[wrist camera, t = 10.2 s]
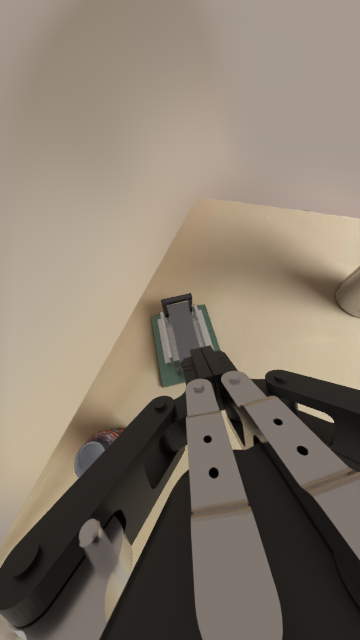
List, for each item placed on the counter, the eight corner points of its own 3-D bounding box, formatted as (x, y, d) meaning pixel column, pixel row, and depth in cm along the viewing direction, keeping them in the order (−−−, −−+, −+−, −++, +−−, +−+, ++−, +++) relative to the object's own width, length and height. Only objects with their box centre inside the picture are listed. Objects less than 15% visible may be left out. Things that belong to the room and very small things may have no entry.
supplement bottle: (146, 443, 32) (124, 456, 22) (122, 477, 30) (86, 508, 20) (122, 420, 34) (92, 422, 24) (99, 450, 32) (55, 466, 22)
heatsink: (226, 372, 37) (233, 362, 30) (163, 387, 36) (155, 381, 30) (204, 306, 44) (206, 287, 38) (151, 318, 44) (143, 301, 37)
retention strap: (204, 363, 31) (187, 301, 37) (181, 368, 31) (167, 305, 37) (204, 364, 33) (187, 304, 38) (182, 370, 33) (168, 308, 38)
